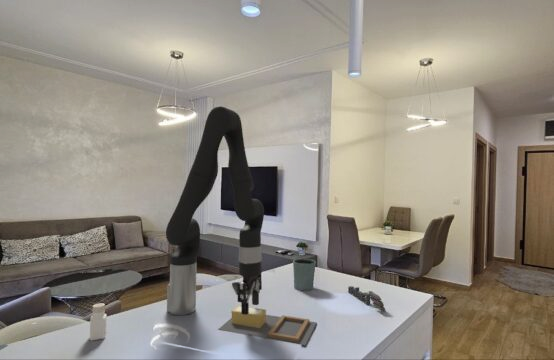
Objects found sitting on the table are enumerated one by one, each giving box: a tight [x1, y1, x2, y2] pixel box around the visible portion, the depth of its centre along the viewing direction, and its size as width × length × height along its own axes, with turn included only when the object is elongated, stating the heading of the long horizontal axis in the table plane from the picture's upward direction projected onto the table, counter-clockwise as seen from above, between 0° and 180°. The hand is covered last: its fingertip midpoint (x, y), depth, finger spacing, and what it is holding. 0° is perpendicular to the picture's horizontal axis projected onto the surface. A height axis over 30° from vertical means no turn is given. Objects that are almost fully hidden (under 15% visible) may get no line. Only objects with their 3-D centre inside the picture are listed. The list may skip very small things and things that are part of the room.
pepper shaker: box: [89, 302, 108, 341], centre depth 95 cm, size 4×4×10 cm
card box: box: [231, 305, 267, 328], centre depth 105 cm, size 10×5×4 cm, turn 71°
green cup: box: [292, 258, 317, 292], centre depth 144 cm, size 10×10×12 cm
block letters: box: [347, 285, 387, 313], centre depth 126 cm, size 25×2×6 cm, turn 15°
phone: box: [231, 281, 243, 296], centre depth 141 cm, size 8×1×15 cm
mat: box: [217, 314, 317, 348], centre depth 103 cm, size 28×16×2 cm, turn 71°
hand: (250, 309), depth 105 cm, fingers open, 8 cm apart
